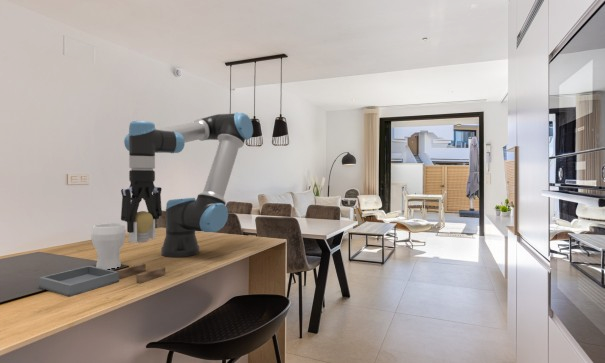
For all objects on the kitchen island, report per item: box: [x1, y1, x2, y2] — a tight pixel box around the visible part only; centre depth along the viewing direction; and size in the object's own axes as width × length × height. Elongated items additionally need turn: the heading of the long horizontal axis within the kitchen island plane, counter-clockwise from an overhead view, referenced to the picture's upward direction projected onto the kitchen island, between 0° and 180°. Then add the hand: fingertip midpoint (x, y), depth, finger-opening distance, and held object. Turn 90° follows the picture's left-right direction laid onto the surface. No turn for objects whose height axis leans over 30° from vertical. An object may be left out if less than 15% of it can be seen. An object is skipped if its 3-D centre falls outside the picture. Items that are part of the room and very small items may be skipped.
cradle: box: [116, 262, 166, 284], centre depth 111 cm, size 10×10×2 cm
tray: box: [38, 265, 120, 297], centre depth 103 cm, size 15×15×3 cm
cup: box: [90, 222, 127, 270], centre depth 121 cm, size 11×11×15 cm
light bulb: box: [134, 210, 153, 243], centre depth 111 cm, size 6×6×10 cm
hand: (142, 240), depth 111 cm, fingers closed on light bulb, 6 cm apart
